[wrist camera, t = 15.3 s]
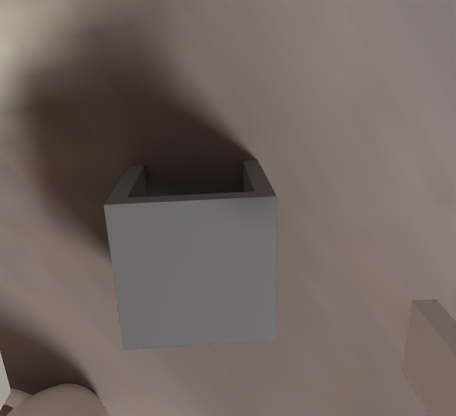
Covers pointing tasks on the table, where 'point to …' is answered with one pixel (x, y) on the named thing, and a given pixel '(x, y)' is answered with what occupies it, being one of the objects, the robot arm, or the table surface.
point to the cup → (56, 402)
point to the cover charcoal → (194, 262)
